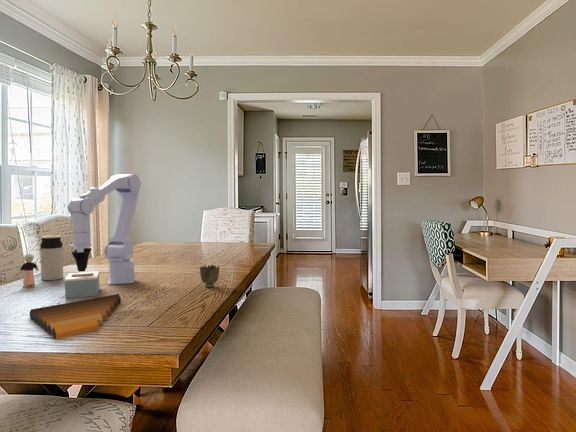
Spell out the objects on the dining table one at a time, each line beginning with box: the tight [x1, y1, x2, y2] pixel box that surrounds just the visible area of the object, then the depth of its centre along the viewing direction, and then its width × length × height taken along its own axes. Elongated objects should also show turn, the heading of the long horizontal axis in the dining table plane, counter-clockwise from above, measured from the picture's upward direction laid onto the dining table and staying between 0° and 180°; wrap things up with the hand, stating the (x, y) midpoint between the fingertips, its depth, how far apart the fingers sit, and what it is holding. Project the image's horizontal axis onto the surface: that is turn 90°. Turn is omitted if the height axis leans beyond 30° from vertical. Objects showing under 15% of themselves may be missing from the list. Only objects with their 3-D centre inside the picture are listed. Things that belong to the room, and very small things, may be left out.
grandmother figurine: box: [18, 253, 40, 288], centre depth 157 cm, size 8×4×13 cm, turn 168°
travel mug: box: [39, 234, 64, 281], centre depth 170 cm, size 8×8×18 cm
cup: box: [199, 264, 220, 289], centre depth 155 cm, size 8×7×8 cm
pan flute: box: [29, 293, 122, 340], centre depth 117 cm, size 25×3×25 cm
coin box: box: [64, 270, 100, 299], centre depth 146 cm, size 10×12×6 cm
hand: (82, 269), depth 146 cm, fingers open, 5 cm apart
